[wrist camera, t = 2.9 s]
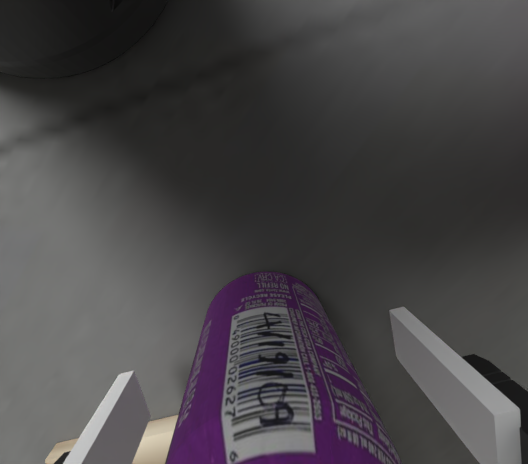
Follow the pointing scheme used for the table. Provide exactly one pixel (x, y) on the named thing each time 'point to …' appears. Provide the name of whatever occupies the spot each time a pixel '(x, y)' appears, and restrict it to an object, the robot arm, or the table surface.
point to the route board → (149, 451)
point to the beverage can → (275, 384)
